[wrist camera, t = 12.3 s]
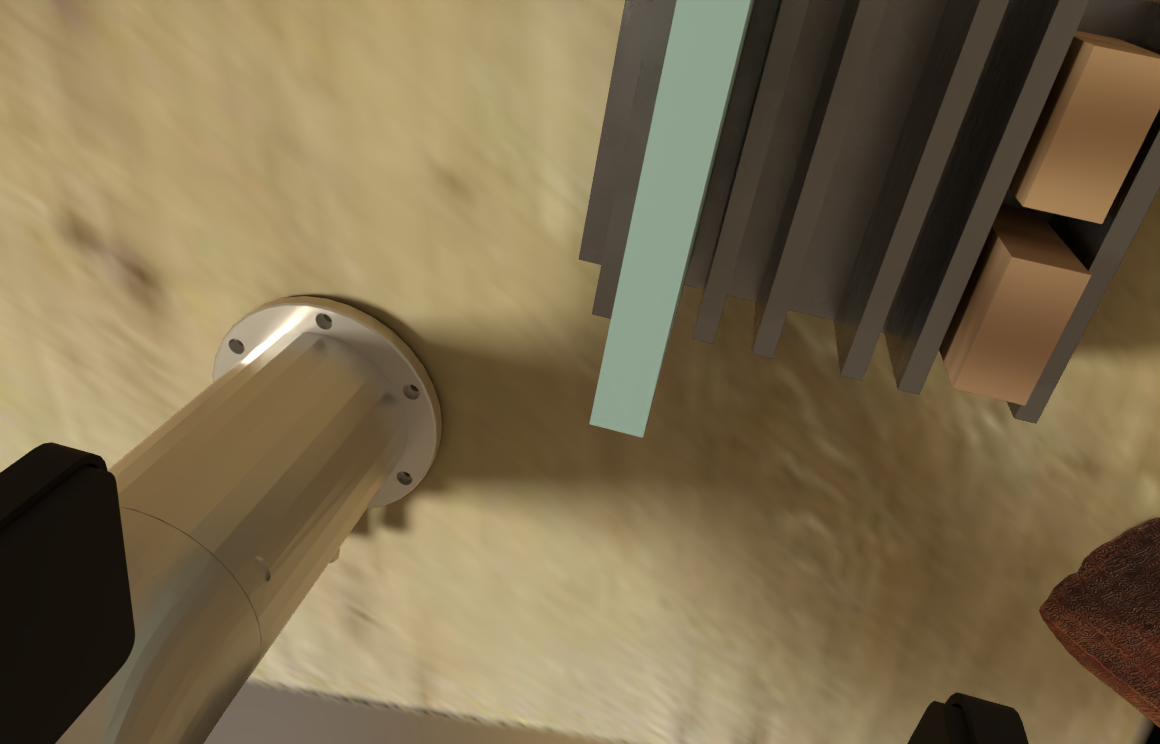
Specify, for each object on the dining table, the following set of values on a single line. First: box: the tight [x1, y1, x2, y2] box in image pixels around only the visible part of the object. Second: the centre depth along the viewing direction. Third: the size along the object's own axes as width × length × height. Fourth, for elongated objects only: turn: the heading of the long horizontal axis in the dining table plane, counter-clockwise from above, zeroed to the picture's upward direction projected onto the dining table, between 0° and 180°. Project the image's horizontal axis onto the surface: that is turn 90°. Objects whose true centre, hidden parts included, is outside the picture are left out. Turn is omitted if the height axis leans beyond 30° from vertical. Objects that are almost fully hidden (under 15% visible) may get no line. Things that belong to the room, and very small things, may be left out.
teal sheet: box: [589, 0, 755, 438], centre depth 28 cm, size 12×2×14 cm, turn 170°
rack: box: [579, 0, 1160, 424], centre depth 32 cm, size 14×20×6 cm
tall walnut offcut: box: [939, 205, 1091, 406], centre depth 32 cm, size 5×2×6 cm, turn 170°
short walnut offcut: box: [1008, 30, 1160, 224], centre depth 29 cm, size 5×2×6 cm, turn 170°
